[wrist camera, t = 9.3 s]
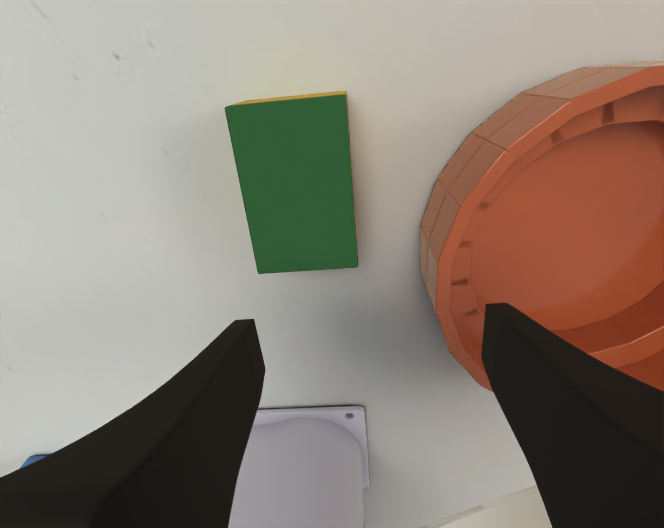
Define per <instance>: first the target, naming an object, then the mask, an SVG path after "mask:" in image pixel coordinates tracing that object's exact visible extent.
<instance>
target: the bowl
mask: <svg viewBox="0 0 664 528" xmlns="http://www.w3.org/2000/svg"><path fill="white" fill-rule="evenodd" d="M420 272H421V274H422V277H423V280H424V283H425V285H426V288H427V291H428V294H429V296H430V299H431V302H432V305H433V307H434V310H435V313H436V315H437V318H438V321H439V324H440V326H441V329H442V332H443V334H444V337H445V340H446V343H447V345H448V348H449V351H450V353H451V354H452V356H453V357H454V358H455V359H456V360H457V361H458V362H459V363H460V364H461V365H462V366H463V368H464V369H465V370H466V371H467V372H468V373H469V374H470V375H471V376H472V377H473V378H474V379H475V381H476V382H477V383H478V384H480V385H481V386H483V387H484V388H486V389H488V390H490V391H492V392H493V390H492V388H491V385H490V383H489V380H488V377H487V374H486V371H485V368H484V365H483V362H482V359H481V351H482V340H483V329H484V318H485V307H486V304H491V303H508V304H510V305H512V306H513V307H515V308H516V309H518V310H519V311H521V312H522V313H524V314H525V315H527V316H528V317H530V318H531V319H533V320H534V321H536V322H537V323H539V324H540V325H542V326H543V327H545V328H547V329H548V330H550V331H551V332H553V333H554V334H556V335H557V336H559V337H561V338H562V339H564V340H565V341H567V342H569V343H570V344H572V345H574V346H575V347H577V348H579V349H580V350H582V351H584V352H586V353H587V354H589V355H591V356H593V357H594V358H596V359H598V360H600V361H601V362H603V363H605V364H607V365H609V366H611V367H613V368H615V369H617V370H619V371H621V372H623V373H625V374H627V375H629V376H631V377H633V378H635V379H637V380H639V381H642V382H644V383H646V384H648V385H650V386H653V387H655V388H657V389H659V390H662V391H664V61H643V62H632V63H622V64H612V65H602V66H592V67H582V68H579V69H576V70H574V71H572V72H569V73H567V74H564V75H562V76H560V77H557V78H555V79H553V80H550V81H548V82H546V83H543V84H541V85H538V86H536V87H534V88H531V89H529V90H527V91H524V92H522V93H521V94H519V95H518V96H516V97H515V98H514V99H513V100H511V101H510V102H509V103H508V104H506V105H505V106H504V107H503V108H501V109H500V110H499V111H498V112H496V113H495V114H494V115H492V116H491V117H490V118H489V119H487V120H486V121H485V122H484V123H482V124H481V125H480V126H479V127H477V128H476V129H475V130H474V131H473V132H472V134H470V135H469V136H468V137H467V139H466V140H465V142H464V143H463V144H462V146H461V147H460V148H459V150H458V151H457V153H456V154H455V155H454V157H453V158H452V159H451V161H450V162H449V163H448V165H447V166H446V168H445V169H444V170H443V172H442V173H441V174H440V176H439V177H438V180H437V181H436V183H435V186H434V189H433V192H432V195H431V197H430V200H429V203H428V206H427V209H426V211H425V214H424V217H423V220H422V223H421V227H420Z"/></svg>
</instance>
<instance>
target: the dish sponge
mask: <svg viewBox="0 0 664 528" xmlns="http://www.w3.org/2000/svg"><path fill="white" fill-rule="evenodd" d="M225 112H226V117H227V122H228V127H229V132H230V137H231V142H232V147H233V152H234V157H235V162H236V167H237V172H238V177H239V182H240V187H241V192H242V197H243V202H244V207H245V211H246V216H247V221H248V226H249V231H250V236H251V241H252V246H253V251H254V256H255V261H256V266H257V271H258V274H264V273H279V272H294V271H309V270H324V269H339V268H354V267H358V257H357V239H356V224H355V210H354V196H353V181H352V167H351V152H350V138H349V124H348V109H347V95H346V91H339V92H329V93H319V94H309V95H299V96H289V97H279V98H269V99H259V100H249V101H244V102H240V103H237V104H234V105H230V106H227V107H225Z"/></svg>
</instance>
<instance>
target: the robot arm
mask: <svg viewBox="0 0 664 528" xmlns="http://www.w3.org/2000/svg"><path fill="white" fill-rule="evenodd" d="M481 359H482V362H483V365H484V368H485V371H486V374H487V377H488V380H489V383H490V385H491V388H492V390H493V392H494V394H495V396H496V398H497V400H498V402H499V404H500V406H501V408H502V410H503V412H504V414H505V416H506V418H507V421H508V423H509V425H510V427H511V429H512V431H513V433H514V435H515V437H516V439H517V441H518V443H519V445H520V447H521V449H522V451H523V453H524V455H525V457H526V459H527V462H528V464H529V466H530V468H531V471H532V473H533V476H534V479H535V481H536V484H537V487H538V489H539V492H540V494H541V497H542V500H543V502H544V505H545V508H546V511H547V513H548V516H549V519H550V522H551V525H552V528H664V391H662V390H659V389H657V388H655V387H653V386H650V385H648V384H646V383H644V382H642V381H639V380H637V379H635V378H633V377H631V376H629V375H627V374H625V373H623V372H621V371H619V370H617V369H615V368H613V367H611V366H609V365H607V364H605V363H603V362H601V361H600V360H598V359H596V358H594V357H593V356H591V355H589V354H587V353H586V352H584V351H582V350H580V349H579V348H577V347H575V346H574V345H572V344H570V343H569V342H567V341H565V340H564V339H562V338H561V337H559V336H557V335H556V334H554V333H553V332H551V331H550V330H548V329H547V328H545V327H543V326H542V325H540V324H539V323H537V322H536V321H534V320H533V319H531V318H530V317H528V316H527V315H525V314H524V313H522V312H521V311H519V310H518V309H516V308H515V307H513V306H512V305H510V304H508V303H491V304H486V307H485V318H484V329H483V340H482V351H481ZM264 375H265V365H264V361H263V356H262V352H261V348H260V343H259V339H258V334H257V330H256V326H255V321H254V319H245V320H235V321H234V322H233V323H231V324H230V325H229V326H228V327H227V328H226V329H225V330H224V331H223V332H222V333H221V334H220V335H219V336H218V337H217V338H216V339H215V340H214V341H213V342H211V343H210V344H209V345H208V346H207V347H206V348H205V349H204V350H203V351H202V352H201V353H200V354H199V355H198V356H197V357H195V358H194V359H193V360H192V361H191V362H190V363H189V364H187V365H186V366H185V367H184V368H183V369H182V370H180V371H179V372H178V373H177V374H176V375H175V376H173V377H172V378H171V379H170V380H169V381H167V382H166V383H165V384H164V385H162V386H161V387H160V388H158V389H157V390H156V391H154V392H153V393H152V394H150V395H149V396H148V397H146V398H145V399H143V400H142V401H141V402H139V403H138V404H136V405H135V406H133V407H132V408H130V409H129V410H127V411H126V412H124V413H122V414H121V415H119V416H118V417H116V418H114V419H113V420H111V421H110V422H108V423H106V424H105V425H103V426H102V427H100V428H98V429H97V430H95V431H93V432H91V433H90V434H88V435H86V436H84V437H82V438H81V439H79V440H77V441H75V442H73V443H71V444H69V445H68V446H66V447H64V448H62V449H60V450H58V451H56V452H54V453H52V454H50V455H48V456H46V457H44V458H42V459H40V460H38V461H35V462H33V463H31V464H29V465H27V466H25V467H23V468H20V469H18V470H16V471H14V472H12V473H10V474H8V475H5V476H3V477H1V478H0V528H365V525H364V499H363V489H366V488H368V487H369V486H370V477H369V464H368V450H367V437H366V423H365V411H364V409H363V408H362V407H360V406H345V407H319V408H294V409H269V410H257V409H258V406H259V402H260V399H261V394H262V388H263V382H264ZM348 413H351V414H348Z"/></svg>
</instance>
